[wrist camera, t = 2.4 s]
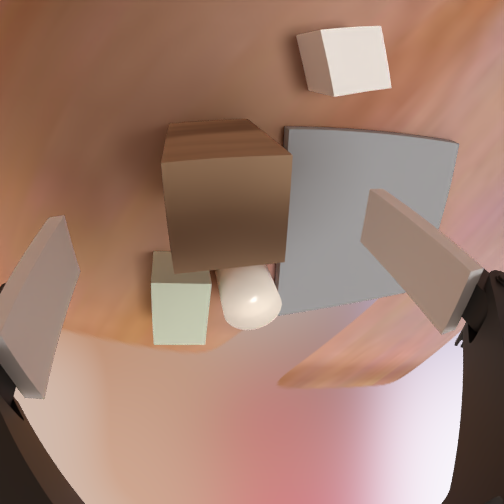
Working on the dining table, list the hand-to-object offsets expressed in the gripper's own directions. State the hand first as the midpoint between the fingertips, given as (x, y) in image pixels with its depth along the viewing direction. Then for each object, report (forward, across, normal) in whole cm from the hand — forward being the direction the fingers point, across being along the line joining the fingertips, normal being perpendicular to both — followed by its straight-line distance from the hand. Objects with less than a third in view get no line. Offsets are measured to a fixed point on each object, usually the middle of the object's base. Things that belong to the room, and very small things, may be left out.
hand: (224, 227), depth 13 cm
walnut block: (+9, 0, 0) cm, 9 cm away
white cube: (+9, +8, +8) cm, 14 cm away
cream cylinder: (+9, +2, -8) cm, 13 cm away
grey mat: (+9, +13, -6) cm, 17 cm away
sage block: (+9, -3, -10) cm, 14 cm away
